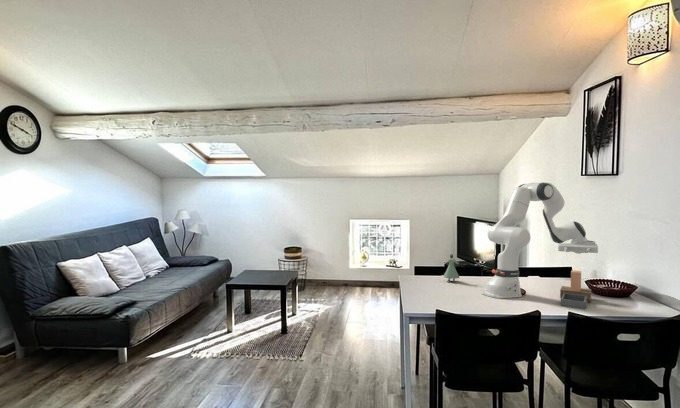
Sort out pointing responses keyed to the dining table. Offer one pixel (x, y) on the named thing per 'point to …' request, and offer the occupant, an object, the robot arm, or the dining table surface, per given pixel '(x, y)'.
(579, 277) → the terracotta block
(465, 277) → the dining table surface
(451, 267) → the character figurine
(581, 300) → the box
